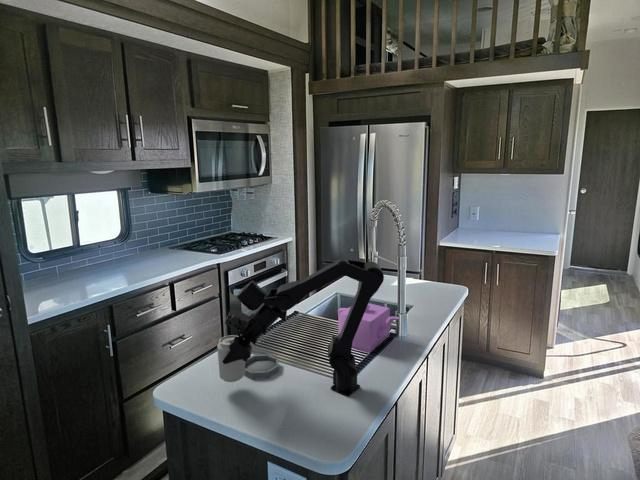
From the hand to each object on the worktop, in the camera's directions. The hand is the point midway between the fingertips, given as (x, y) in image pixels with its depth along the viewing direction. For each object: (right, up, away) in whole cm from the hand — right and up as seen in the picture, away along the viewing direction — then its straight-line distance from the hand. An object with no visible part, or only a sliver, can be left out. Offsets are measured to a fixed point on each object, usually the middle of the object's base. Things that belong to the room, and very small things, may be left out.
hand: (226, 356), depth 123 cm
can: (+1, -7, +1) cm, 7 cm away
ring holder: (+8, -8, +13) cm, 17 cm away
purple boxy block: (+45, -4, +32) cm, 55 cm away
